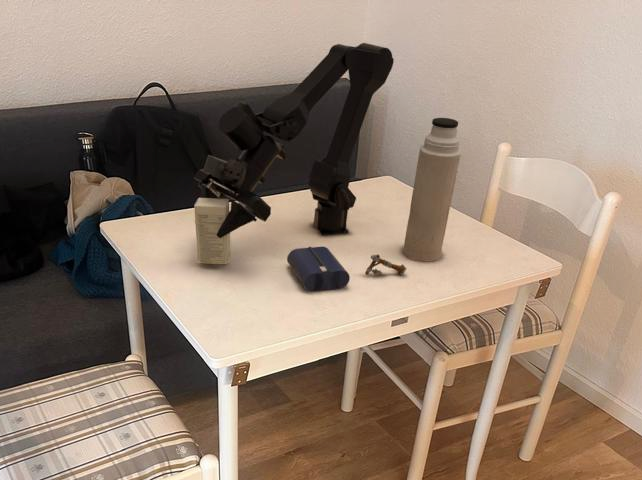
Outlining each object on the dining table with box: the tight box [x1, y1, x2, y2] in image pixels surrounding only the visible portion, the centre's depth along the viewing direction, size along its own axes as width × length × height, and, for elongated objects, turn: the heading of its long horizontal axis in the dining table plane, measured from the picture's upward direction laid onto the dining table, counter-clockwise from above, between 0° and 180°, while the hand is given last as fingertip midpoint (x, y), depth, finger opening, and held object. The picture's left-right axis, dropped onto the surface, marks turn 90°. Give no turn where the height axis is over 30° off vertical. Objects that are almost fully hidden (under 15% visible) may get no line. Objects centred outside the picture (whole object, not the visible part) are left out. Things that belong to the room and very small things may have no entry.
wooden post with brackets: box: [364, 253, 408, 277], centre depth 135 cm, size 2×8×4 cm, turn 102°
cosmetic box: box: [193, 197, 232, 265], centre depth 132 cm, size 6×4×12 cm
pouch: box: [286, 245, 351, 293], centre depth 132 cm, size 9×11×4 cm
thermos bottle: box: [402, 117, 462, 262], centre depth 137 cm, size 8×8×28 cm
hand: (207, 230), depth 131 cm, fingers closed on cosmetic box, 7 cm apart
